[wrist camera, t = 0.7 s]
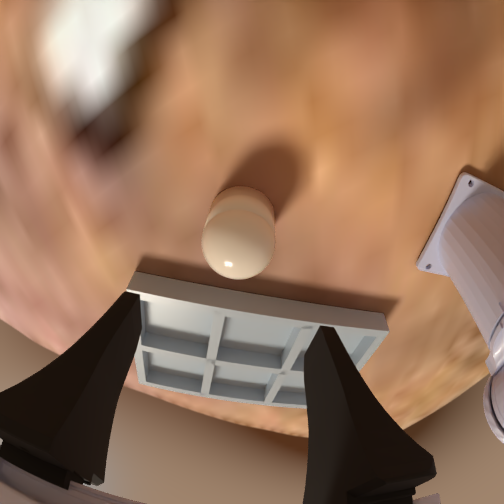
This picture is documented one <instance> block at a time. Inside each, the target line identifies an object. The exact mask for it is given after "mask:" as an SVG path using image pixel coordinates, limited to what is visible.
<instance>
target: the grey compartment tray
mask: <svg viewBox="0 0 504 504" xmlns="http://www.w3.org/2000/svg"><path fill="white" fill-rule="evenodd" d="M127 292H132V293H136V294H140V304H141V319H142V331H141V334H140V338H139V342H138V346H137V350H136V352H135V355H134V356H135V362H136V369H137V375H138V380H139V384H143V385H147V386H151V387H156V388H160V389H165V390H170V391H175V392H180V393H185V394H190V395H196V396H201V397H207V398H213V399H220V400H226V401H234V402H241V403H249V404H258V405H267V406H278V407H290V408H306V409H307V405H306V395H305V386H304V354H305V352H306V351H307V349H308V347H309V345H310V343H311V341H312V340H313V338H314V336H315V334H316V332H317V330H318V328H319V326H320V325H321V326H329V327H334V328H335V330H336V332H337V333H338V335H339V337H340V339H341V341H342V343H343V345H344V347H345V348H346V350H347V352H348V354H349V356H350V358H351V359H352V361H353V363H354V365H355V366H356V368H357V370H358V371H360V370H361V369H362V367H363V366H364V365H365V364H366V362H367V361H368V360H369V358H370V357H371V356H372V354H373V353H374V352H375V351H376V349H377V348H378V347H379V345H380V344H381V342H382V341H383V340H384V338H385V337H386V336H387V334H388V333H389V328H388V325H387V322H386V319H385V316H384V313H377V312H370V311H362V310H355V309H348V308H341V307H334V306H327V305H321V304H314V303H307V302H301V301H295V300H288V299H282V298H276V297H270V296H264V295H258V294H252V293H247V292H241V291H235V290H229V289H224V288H218V287H213V286H208V285H202V284H197V283H192V282H186V281H181V280H176V279H171V278H166V277H161V276H156V275H151V274H146V273H141V272H137V271H135V272H134V274H133V276H132V278H131V281H130V283H129V285H128V287H127Z"/></svg>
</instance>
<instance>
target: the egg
mask: <svg viewBox="0 0 504 504" xmlns="http://www.w3.org/2000/svg"><path fill="white" fill-rule="evenodd" d="M201 244H202V251H203V255H204V257H205V259H206V261H207V263H208V264H209V266H210V267H211V268H212V269H213V270H214V271H215V272H217V273H218V274H220V275H222V276H224V277H226V278H230V279H239V280H240V279H247V278H251V277H253V276H255V275H257V274H259V273H260V272H262V271H263V270H264V269H265V268H266V267H267V266H268V264H269V263H270V261H271V259H272V257H273V255H274V251H275V244H276V239H275V220H274V210H273V206H272V204H271V202H270V200H269V199H268V198H267V197H266V196H265V195H264V194H263V193H262V192H260V191H258V190H256V189H254V188H251V187H246V186H236V187H231V188H228V189H226V190H224V191H222V192H221V193H220V194H218V195H217V196H216V198H215V199H214V201H213V202H212V205H211V207H210V211H209V214H208V217H207V220H206V223H205V227H204V230H203V234H202V240H201Z"/></svg>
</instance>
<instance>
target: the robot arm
mask: <svg viewBox="0 0 504 504" xmlns="http://www.w3.org/2000/svg"><path fill="white" fill-rule="evenodd" d="M470 180H471V183H470V184H468V183H469V181H470ZM428 264H429V265H428ZM426 265H428V266H426ZM416 266H417V268H418V269H419V270H421V271H426V272H430V273H435V274H440V275H445V276H449V277H450V278H451V280H452V281H453V283H454V285H455V286H456V288H457V290H458V292H459V293H460V295H461V297H462V299H463V300H464V302H465V304H466V306H467V307H468V309H469V311H470V313H471V315H472V317H473V318H474V320H475V322H476V324H477V326H478V328H479V330H480V332H481V334H482V336H483V338H484V340H485V342H486V344H487V346H488V348H489V350H490V354H489V356H488V358H487V359H486V361H485V362H486V365H487V367H488V369H489V372H490V374H491V376H490V377H489V379H488V381H487V383H486V386H485V389H484V395H483V404H484V411H485V415H486V419H487V421H488V424H489V426H490V428H491V429H492V431H493V433H494V434H495V435H496V437H497V438H498V439H499V440H500V441H501V442H502V443H503V444H504V191H502V190H500V189H499V188H497V187H495V186H493V185H491V184H489V183H487V182H485V181H483V180H481V179H479V178H477V177H475V176H473V175H471V174H469V173H466V172H463V173H461V174H460V176H459V177H458V180H457V182H456V184H455V187H454V189H453V191H452V193H451V195H450V198H449V200H448V202H447V204H446V206H445V208H444V210H443V212H442V214H441V217H440V219H439V221H438V223H437V225H436V227H435V229H434V231H433V232H432V234H431V236H430V238H429V240H428V242H427V244H426V246H425V248H424V250H423V251H422V253H421V255H420V257H419V259H418V260H417V263H416ZM141 331H142V319H141V304H140V294H136V293H132V292H127V291H125V292H124V293H122V295H121V296H120V297H119V298H118V299H117V300H116V302H115V303H114V304H113V305H112V306H111V307H110V308H109V309H108V311H107V312H106V313H105V314H104V315H103V316H102V317H101V318H100V319H99V320H98V321H97V322H96V323H95V324H94V325H93V326H92V327H91V328H90V329H89V330H88V331H87V332H86V333H85V334H84V335H83V336H82V337H81V338H80V339H79V340H78V341H77V342H76V343H75V344H73V345H72V346H71V347H70V348H69V349H68V350H66V351H65V352H64V353H63V354H62V355H60V356H59V357H58V358H56V359H55V360H54V361H52V362H51V363H50V364H48V365H47V366H46V367H44V368H43V369H41V370H40V371H38V372H37V373H35V374H33V375H32V376H30V377H29V378H27V379H25V380H24V381H22V382H20V383H19V384H17V385H15V386H13V387H10V388H8V389H6V390H4V391H2V392H0V438H1V439H2V440H3V442H2V445H0V504H145V503H141V502H137V501H133V500H129V499H125V498H121V497H118V496H114V495H111V494H108V493H104V492H102V491H98V490H96V489H92V488H90V487H87V486H84V485H83V483H85V484H87V485H91V484H93V485H96V486H98V485H100V484H102V483H104V477H105V468H106V459H107V452H108V446H109V439H110V434H111V429H112V424H113V418H114V414H115V409H116V406H117V402H118V399H119V395H120V392H121V389H122V387H123V384H124V381H125V379H126V376H127V373H128V371H129V368H130V366H131V363H132V360H133V358H134V355H135V352H136V350H137V346H138V342H139V338H140V334H141ZM304 386H305V395H306V405H307V415H308V427H309V444H308V463H307V475H306V486H305V492H304V499H303V504H441V503H440V497H439V494H438V493H436V494H433V495H429V496H426V497H422V498H419V499H416V500H413V499H412V495H415V493H416V491H415V487H416V486H418V485H420V484H423V483H425V482H427V481H429V480H430V479H432V478H434V477H435V476H436V474H437V473H436V468H435V463H434V459H433V456H432V455H431V454H430V453H429V452H427V451H426V450H425V449H424V448H422V447H421V446H420V445H419V444H417V443H416V442H415V441H414V440H413V439H412V438H411V437H410V436H408V435H407V434H406V433H405V432H404V431H403V430H402V429H401V428H400V426H399V425H398V424H397V423H396V422H395V421H394V420H393V419H392V418H391V417H390V415H389V414H388V413H387V412H386V411H385V409H384V408H383V407H382V406H381V404H380V403H379V402H378V400H377V399H376V398H375V396H374V395H373V394H372V392H371V391H370V389H369V388H368V386H367V384H366V383H365V381H364V380H363V378H362V377H361V375H360V373H359V371H358V370H357V368H356V366H355V365H354V363H353V361H352V359H351V358H350V356H349V354H348V352H347V350H346V348H345V347H344V345H343V343H342V341H341V339H340V337H339V335H338V333H337V332H336V330H335V328H334V327H329V326H321V325H320V326H319V328H318V330H317V332H316V334H315V336H314V338H313V340H312V341H311V343H310V345H309V347H308V349H307V351H306V352H305V354H304Z"/></svg>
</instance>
